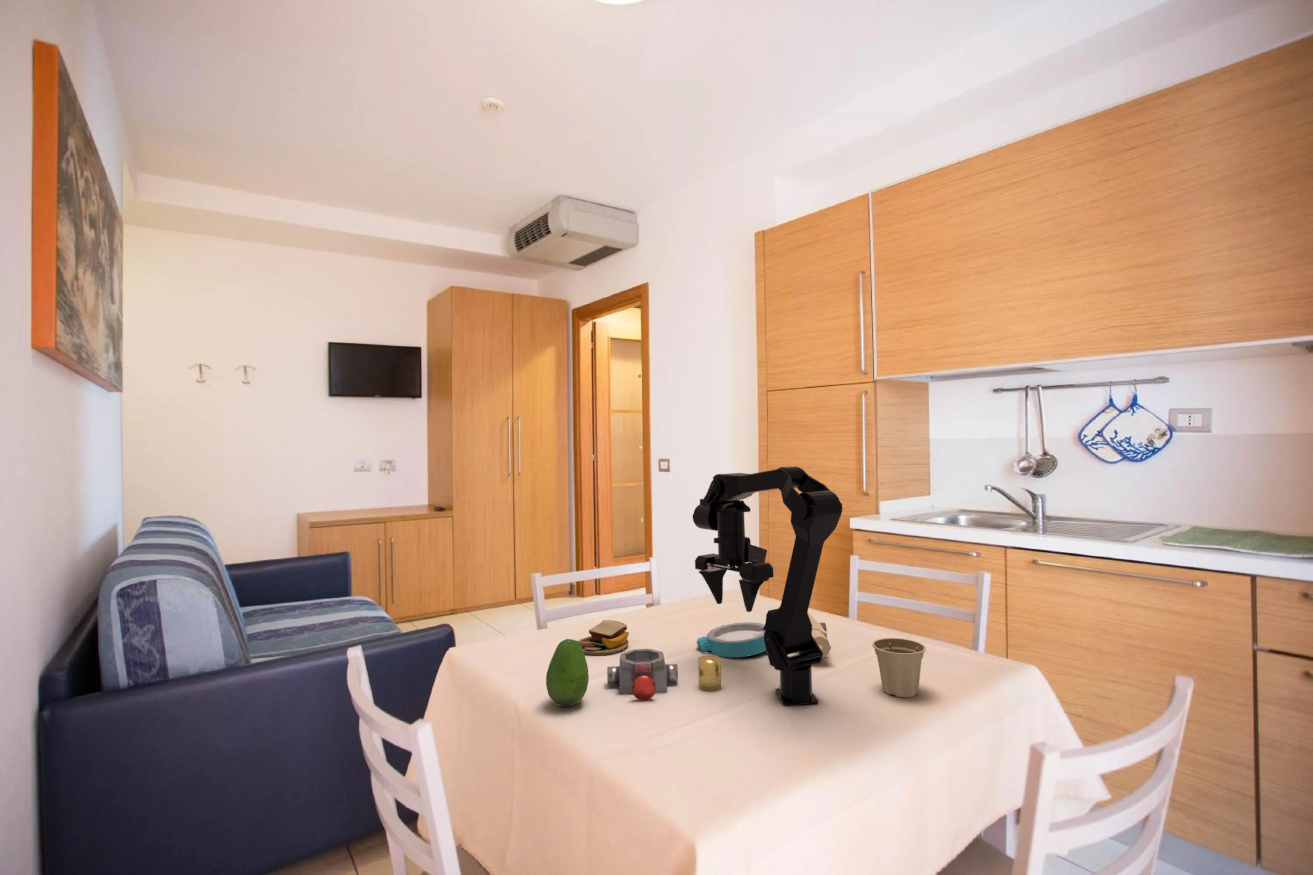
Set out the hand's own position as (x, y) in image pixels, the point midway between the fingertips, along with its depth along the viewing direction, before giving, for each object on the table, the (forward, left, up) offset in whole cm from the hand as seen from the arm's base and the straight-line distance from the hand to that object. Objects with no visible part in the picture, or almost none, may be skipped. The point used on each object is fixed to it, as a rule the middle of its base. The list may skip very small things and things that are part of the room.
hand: (733, 607), depth 130 cm
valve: (-8, +20, -13) cm, 25 cm away
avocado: (-14, +34, -13) cm, 39 cm away
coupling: (-9, +7, -13) cm, 17 cm away
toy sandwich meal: (+18, +28, -13) cm, 36 cm away
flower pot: (-15, -28, -13) cm, 35 cm away
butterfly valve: (+12, -8, -13) cm, 20 cm away
